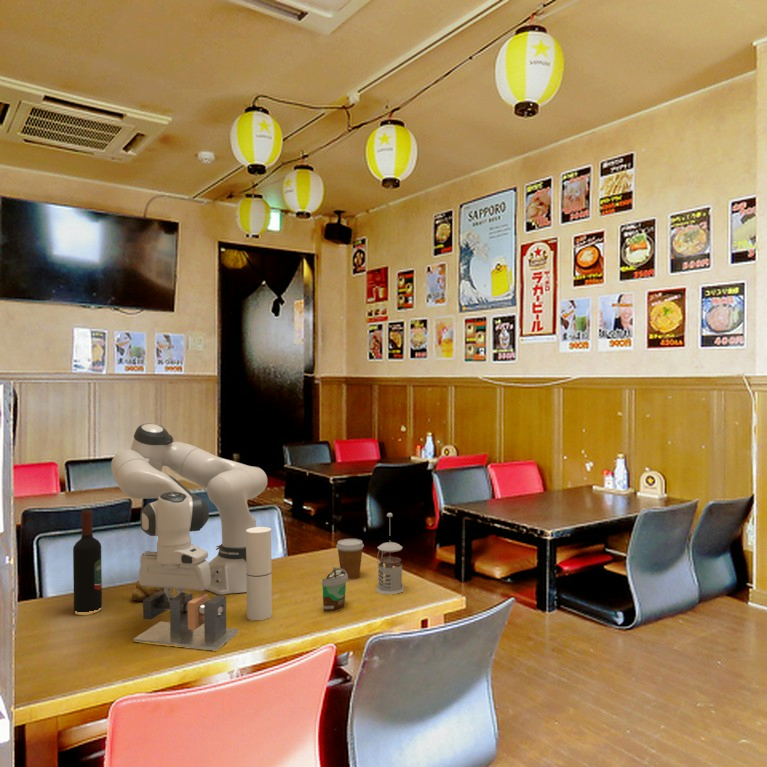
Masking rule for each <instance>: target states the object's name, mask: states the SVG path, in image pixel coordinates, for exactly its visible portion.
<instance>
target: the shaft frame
mask: <svg viewBox="0 0 767 767" xmlns="http://www.w3.org/2000/svg"><path fill="white" fill-rule="evenodd" d="M193 595H194V594H193V593H191V592H184V593H181V594H179V595H178V596H177V595H175V596H176V597H174V598H173V599H171V600H170V610H169V622H168V621H159V622H157V623H155V624H154V625H153V626H151V627H149V628H147V630H145V631H143V632H141V633H140V634H139V635H137V636H135V637H134V638H133V639H132V641H141V642H150V643H159V644H168V645H177V646H182V647H189V648H197V649H205V650H215V651H216V650H218V649H219V648H220V647H221V646H222V647H224V646H225V645H226V644H227V643H228V642H229V641H231V640H232V639H233V638H234V637H236V636H237V635H238V634H239V630H240V629H239V628H230V627H229V628H228V627H227V596H226V595H219V594H216V595H214V596H212V597H211V598H209V600H208V601H207V602H205V603H204V624H202V625H201V626H200V627H198V628H197V629H196V630H189V629H188V612H184V611H183V605H184V604H188V602H189V601H191V600H192V599H194V598H193V597H194V596H193ZM218 607H223V613H222V614H221V615H218ZM237 633H238V634H237ZM236 634H237V635H236ZM233 636H234V637H233ZM232 637H233V638H232ZM231 638H232V639H231ZM230 639H231V640H230ZM226 642H227V643H226ZM225 643H226V644H225ZM224 644H225V645H224ZM223 645H224V646H223ZM222 647H221V648H222ZM221 648H220V649H221ZM220 649H219V650H220ZM205 650H204V651H205ZM219 650H218V651H219ZM215 651H214V652H215ZM216 652H217V651H216Z"/></svg>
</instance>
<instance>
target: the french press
mask: <svg viewBox="0 0 767 767" xmlns="http://www.w3.org/2000/svg"><path fill="white" fill-rule="evenodd" d="M386 517H388V518H389V523H388V524H389V534H388V535H391V518H393V513H392V512H388V513H387V514H386ZM377 549H378V552H377V565H378V567H377V568H378V570H377V571H378V578H377V579H378V586H377V587H376V588H375V590H376V591H377V592H376V593H378V592H379V593H378V594H380V593H382V594H381V595H385V594H395V595H397V594H396V593H400V592H402V591H404V588H405V587H404V586H403V563H401V561H402V559H401V558H399V557H397V556H396V557H395V556H384V557H383V555H384V554H386V553H395V552H400V551H402V549H403V546H402V545H400V544H399V543H397V542H393V541H389V542H383V543H381V544H380V545H379V546H377ZM380 551H381V558H379V553H380ZM394 566H395V567H394ZM404 592H405V591H404ZM400 594H401V593H400Z"/></svg>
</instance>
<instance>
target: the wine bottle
mask: <svg viewBox="0 0 767 767" xmlns="http://www.w3.org/2000/svg"><path fill="white" fill-rule="evenodd" d="M72 553H73V554H72V556H73V557H72V562H73V563H72V566H73V567H72V570H73V572H72V573H73V576H72V578H73V612H74V611H77V612H89V611H94V610H98V609H99V608H101V607H102V608H103V600H102V598H103V597H102V596H103V595H102V594H103V591H102V590H103V589H102V588H103V587H102V585H103V584H102V583H103V582H102V580H103V579H102V575H103V574H102V543H100V541H99V540H98V539H97V538H95V537H94V535H93V510H92V509H84V510H83V509H82V510H81V537H80V539H79V540H77V542H75V544H74V545H73V548H72Z"/></svg>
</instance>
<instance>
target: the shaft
mask: <svg viewBox="0 0 767 767" xmlns="http://www.w3.org/2000/svg"><path fill="white" fill-rule="evenodd" d="M166 611H170V602H168V598H167V596H166V594H165V592H164V591H162V590H161V591H159V592H157V593H155V594H153V595H152V596H150V597H148V598H146V599H145V600H143V601H142V620H146V621H152V620H154V619H155V618H157V617H159V616H160V615H162V614H164V613H165V612H166ZM183 611H184V612H188V604H184V605H183ZM198 613H204V605H201V606H200V607H198ZM222 613H223V607H218V615H221V614H222Z"/></svg>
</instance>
